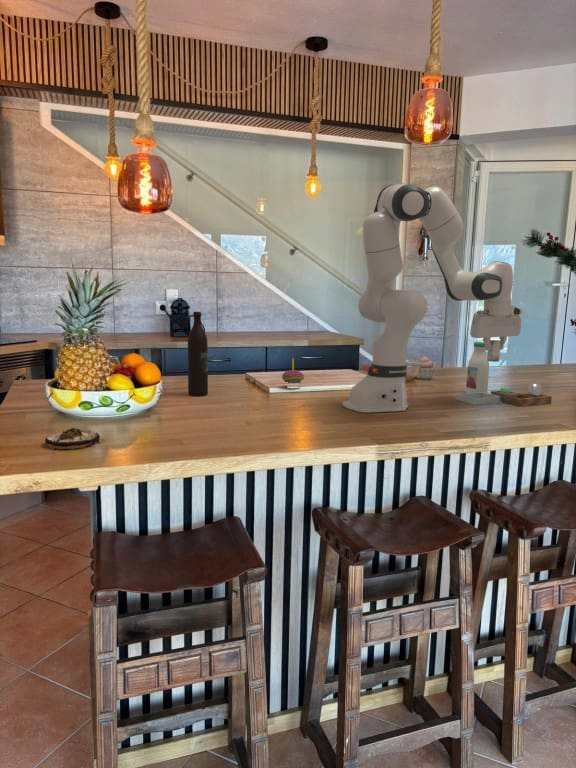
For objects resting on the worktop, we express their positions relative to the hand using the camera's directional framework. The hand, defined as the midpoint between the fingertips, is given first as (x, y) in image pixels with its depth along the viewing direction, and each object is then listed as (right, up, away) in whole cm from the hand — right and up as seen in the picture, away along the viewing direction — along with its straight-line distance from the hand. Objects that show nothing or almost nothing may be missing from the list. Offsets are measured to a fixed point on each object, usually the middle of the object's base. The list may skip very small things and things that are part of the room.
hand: (494, 350), depth 196 cm
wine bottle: (-104, -16, +9) cm, 106 cm away
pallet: (+12, -19, +2) cm, 23 cm away
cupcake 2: (-12, -10, +53) cm, 55 cm away
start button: (+7, -16, +8) cm, 20 cm away
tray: (-4, -18, +4) cm, 19 cm away
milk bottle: (0, -16, +18) cm, 24 cm away
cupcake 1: (-70, -14, +26) cm, 76 cm away
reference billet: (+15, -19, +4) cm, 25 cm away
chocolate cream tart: (-126, -27, -54) cm, 140 cm away
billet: (0, -4, +1) cm, 4 cm away
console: (+7, -18, +8) cm, 21 cm away
